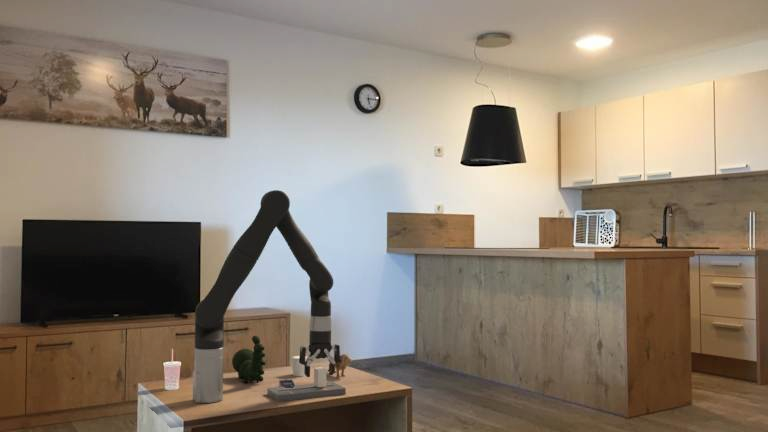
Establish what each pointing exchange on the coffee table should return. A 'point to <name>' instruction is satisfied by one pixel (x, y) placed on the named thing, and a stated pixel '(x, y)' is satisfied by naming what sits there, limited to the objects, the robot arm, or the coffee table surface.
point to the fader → (320, 377)
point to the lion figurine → (342, 364)
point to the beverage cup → (172, 374)
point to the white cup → (298, 366)
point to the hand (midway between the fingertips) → (319, 375)
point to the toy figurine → (250, 362)
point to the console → (305, 391)
